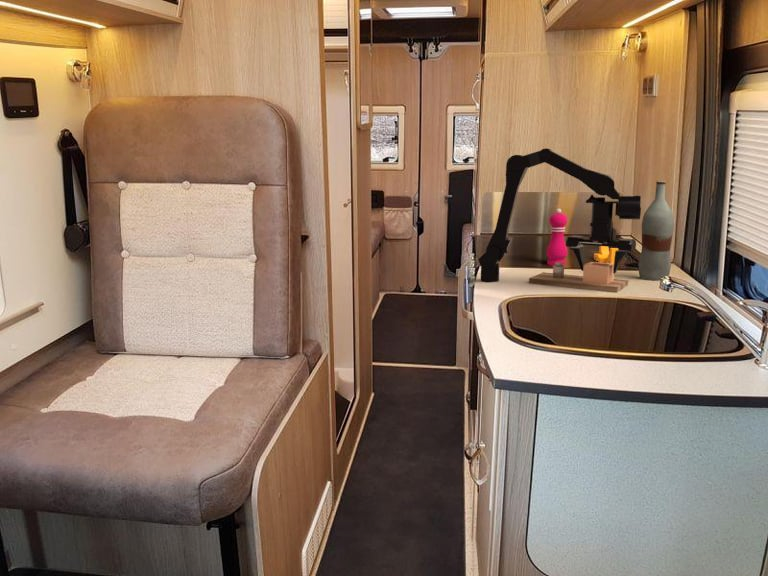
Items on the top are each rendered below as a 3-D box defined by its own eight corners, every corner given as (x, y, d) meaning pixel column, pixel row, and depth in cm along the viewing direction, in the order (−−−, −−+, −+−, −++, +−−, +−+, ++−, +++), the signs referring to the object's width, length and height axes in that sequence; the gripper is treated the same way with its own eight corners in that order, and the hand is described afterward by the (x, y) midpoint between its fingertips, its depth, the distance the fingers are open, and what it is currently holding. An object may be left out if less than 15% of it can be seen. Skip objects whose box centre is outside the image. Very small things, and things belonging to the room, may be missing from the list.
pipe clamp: (593, 262, 228) (594, 244, 226) (605, 261, 228) (606, 244, 226) (605, 267, 216) (606, 249, 215) (618, 267, 216) (619, 248, 215)
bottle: (636, 279, 193) (643, 181, 187) (638, 274, 201) (645, 180, 195) (670, 281, 189) (678, 181, 183) (670, 276, 197) (678, 180, 191)
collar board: (617, 292, 175) (618, 271, 173) (528, 283, 189) (529, 263, 188) (627, 285, 184) (629, 265, 183) (543, 276, 199) (543, 258, 198)
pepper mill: (552, 267, 216) (555, 209, 212) (541, 264, 223) (544, 208, 219) (570, 266, 218) (573, 209, 214) (559, 263, 225) (562, 207, 221)
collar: (607, 284, 178) (608, 267, 177) (582, 281, 182) (583, 265, 181) (613, 280, 184) (614, 263, 183) (589, 278, 188) (590, 261, 187)
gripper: (642, 218, 181) (638, 270, 184) (578, 215, 191) (575, 265, 194) (633, 221, 172) (629, 276, 175) (566, 218, 182) (563, 270, 185)
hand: (598, 272), depth 183 cm, fingers open, 9 cm apart
